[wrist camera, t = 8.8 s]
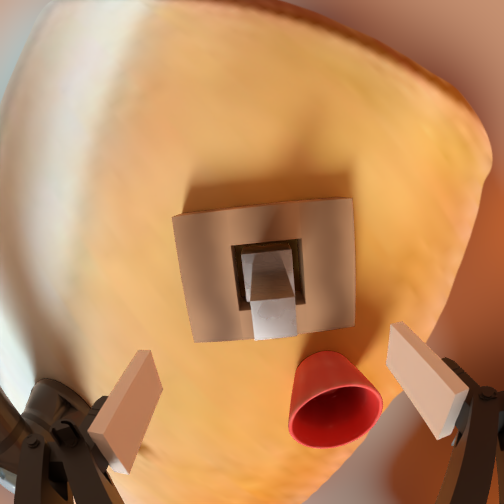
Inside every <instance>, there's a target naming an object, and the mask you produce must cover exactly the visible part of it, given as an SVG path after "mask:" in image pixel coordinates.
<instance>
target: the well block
mask: <svg viewBox="0 0 504 504" xmlns="http://www.w3.org/2000/svg"><path fill="white" fill-rule="evenodd" d="M172 222H173V229H174V235H175V242H176V248H177V254H178V261H179V266H180V272H181V278H182V283H183V289H184V294H185V299H186V305H187V310H188V315H189V320H190V324H191V329H192V334H193V338H194V343H199V342H218V341H233V340H247V339H255V338H254V329H253V321H252V313H251V305H250V301H249V302H247V299H246V297H241V293H240V285H239V277H238V269H237V261H236V253H235V245H241V244H250V243H260V242H269V241H279V240H289V239H297V248H298V261H299V275H300V291H298V292H295V305H296V322H297V334H305V333H312V332H320V331H327V330H334V329H340V328H347V327H353V326H355V291H356V277H355V236H354V217H353V202H352V198H345V197H334V198H321V199H309V200H297V201H286V202H276V203H266V204H256V205H247V206H238V207H229V208H221V209H213V210H205V211H197V212H189V213H182V214H179V215H176V216H174V217H172Z"/></svg>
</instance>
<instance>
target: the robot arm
mask: <svg viewBox="0 0 504 504" xmlns="http://www.w3.org/2000/svg"><path fill="white" fill-rule="evenodd" d="M386 365H387V367H388V368H389V370H390V371H391V373H392V374H393V375H394V377H395V378H396V380H397V381H398V383H399V384H400V385H401V387H402V388H403V390H404V391H405V393H406V394H407V395H408V397H409V398H410V400H411V401H412V403H413V404H414V406H415V407H416V409H417V410H418V412H419V413H420V414H421V416H422V418H423V419H424V421H425V422H426V424H427V425H428V426H429V428H430V430H431V431H432V433H433V434H434V436H435V437H436V439H437V440H438V439H441V438H443V437H445V436H447V435H450V434H451V432H452V430H453V428H454V426H456V427H457V428H458V432H457V435H456V437H455V439H454V441H453V443H452V446H453V445H454V446H453V451H452V454H451V458H450V461H449V465H448V468H447V472H446V475H445V478H444V481H443V484H442V486H441V489H440V492H439V495H438V498H437V500H436V503H435V504H486V502H487V498H488V494H489V490H490V485H491V480H492V474H493V468H494V462H495V455H496V461H497V471H498V484H499V504H504V391H501V392H497V391H496V390H495V389H494V388H492V387H488V386H482V387H480V386H479V385H478V384H477V383H476V382H475V381H474V380H473V379H472V378H471V377H470V376H469V375H468V374H467V373H466V372H464V370H463V369H462V368H460V366H458V364H457V363H455V361H453V360H451V359H449V358H446V357H445V358H442V359H440V358H439V357H438V356H437V355H436V354H435V353H434V352H433V351H432V350H431V349H430V348H429V347H428V346H427V345H426V344H425V343H424V342H423V341H422V340H421V339H420V338H419V337H418V336H417V335H416V334H415V333H414V332H413V331H412V330H411V329H410V328H409V327H408V326H407V325H405V324H404V323H403V322H398V323H393V324H391V325H390V336H389V345H388V353H387V361H386ZM162 390H163V388H162V385H161V382H160V379H159V376H158V373H157V370H156V366H155V363H154V360H153V357H152V353H151V350H138V351H137V353H136V354H135V356H134V358H133V359H132V361H131V362H130V364H129V365H128V367H127V368H126V370H125V371H124V373H123V374H122V376H121V378H120V379H119V381H118V382H117V384H116V385H115V387H114V389H113V390H112V392H111V393H110V395H109V396H102V397H101V398H99V399H98V400H97V401H96V402H95V403H94V405H93V406H92V408H90V407H89V406H88V405H87V404H86V402H85V401H84V400H83V399H82V398H81V397H79V396H78V395H77V394H76V393H75V392H74V391H72V390H71V389H70V388H68V387H67V386H65V385H63V384H61V383H59V382H57V381H55V380H52V379H41V380H40V381H38V383H37V384H36V385H35V386H34V387H33V388H32V390H31V394H30V397H29V399H28V402H27V404H26V407H25V410H24V412H23V413H22V414H21V415H20V414H19V412H18V411H17V410H16V408H15V407H14V406H13V404H12V403H11V401H10V400H9V399H8V397H7V396H6V394H5V393H4V391H3V390H2V388H1V387H0V484H1V485H2V486H4V487H5V488H6V489H8V490H9V491H11V492H12V493H13V494H15V497H14V504H74V502H73V496H74V499H75V502H76V504H124V502H123V500H122V498H121V496H120V495H119V493H118V491H117V489H116V487H115V485H114V483H113V481H112V479H111V477H110V475H109V473H108V472H107V471H106V469H107V467H108V465H110V467H111V468H112V470H113V471H114V472H118V473H123V474H128V475H129V474H130V471H131V468H132V466H133V463H134V460H135V458H136V455H137V453H138V450H139V448H140V445H141V442H142V440H143V437H144V435H145V432H146V430H147V427H148V425H149V422H150V420H151V417H152V415H153V412H154V410H155V407H156V405H157V402H158V400H159V398H160V395H161V393H162Z"/></svg>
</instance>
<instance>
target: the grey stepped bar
mask: <svg viewBox="0 0 504 504" xmlns="http://www.w3.org/2000/svg"><path fill="white" fill-rule="evenodd" d="M241 258H242V266H243V275H244V283H245V291H246V299H247V302H249V301H250V305H251V313H252V321H253V329H254V338H255V340H264V339H274V338H283V337H292V336H297V322H296V305H295V288H294V274H293V261H292V249H291V248H290V246H289V244H288V242H283V243H274V244H264V245H254V246H245V247H243V249H242V253H241Z"/></svg>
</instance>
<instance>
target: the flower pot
mask: <svg viewBox="0 0 504 504" xmlns="http://www.w3.org/2000/svg"><path fill="white" fill-rule="evenodd" d="M382 409H383V401H382V397H381V395H380V393H379V392H378V391H377V389H376V388H375V387H374V386H373V385H372V384H371V383H370V381H369V380H368V379H367V378H366V377H365V376H364V375H363V374H362V373H361V372H360V371H359V370H358V369H357V368H356V367H355V366H354V365H353V364H352V363H351V362H350V361H349V360H348V359H347V358H346V357H344V356H343V355H342V354H340V353H338V352H334V351H321V352H317V353H315V354H312V355H310V356H309V357H307V358H306V359H305V360H303V361H302V362H301V364H300V365H299V366H298V368H297V370H296V373H295V378H294V384H293V390H292V396H291V404H290V412H289V424H288V428H289V432H290V435H291V436H292V437H293V439H294V440H296V441H297V442H298V443H300V444H302V445H304V446H307V447H311V448H320V449H324V448H334V447H339V446H343V445H346V444H348V443H351V442H353V441H355V440H357V439H358V438H360V437H361V436H363V435H364V434H366V433H367V432H368V431H369V430H370V429H371V428H372V427H373V426H374V425H375V424H376V422H377V421H378V419H379V417H380V415H381V413H382Z"/></svg>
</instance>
